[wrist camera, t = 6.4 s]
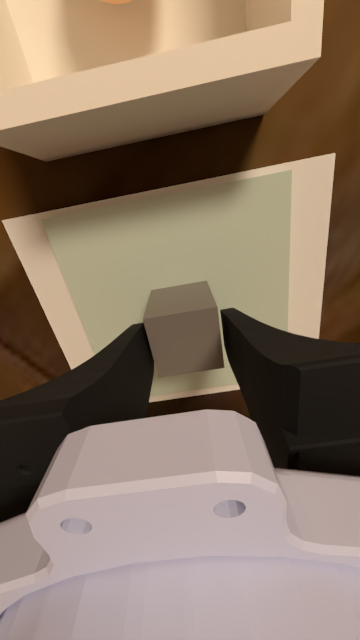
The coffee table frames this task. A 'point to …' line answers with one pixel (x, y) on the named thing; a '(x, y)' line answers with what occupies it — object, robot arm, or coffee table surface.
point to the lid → (180, 271)
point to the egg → (116, 1)
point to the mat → (306, 191)
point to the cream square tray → (144, 68)
